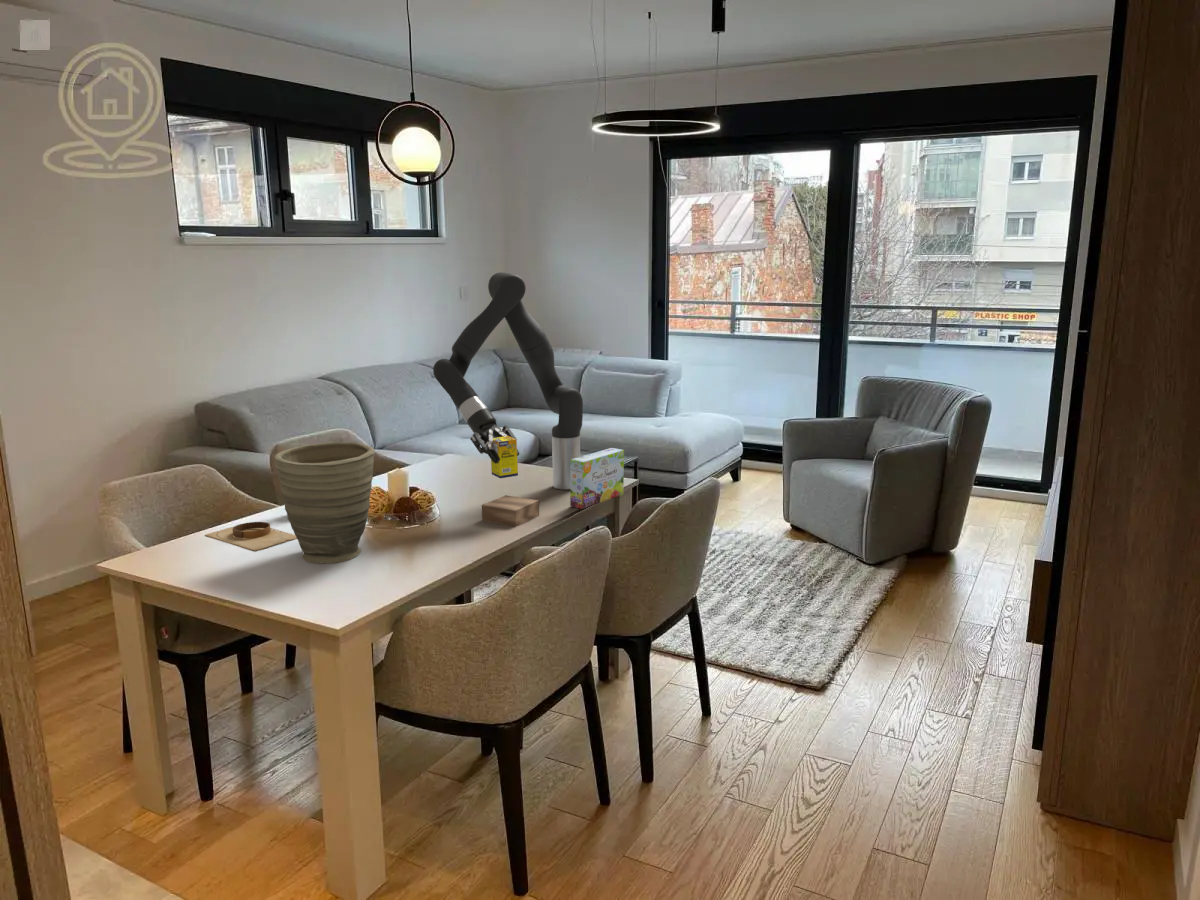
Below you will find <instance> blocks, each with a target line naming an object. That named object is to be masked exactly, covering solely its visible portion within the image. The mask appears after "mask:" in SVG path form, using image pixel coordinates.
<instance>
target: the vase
mask: <svg viewBox="0 0 1200 900" xmlns="http://www.w3.org/2000/svg"><path fill="white" fill-rule="evenodd" d="M374 453H375V449H374V447H372V446H370V445H368V444H365V443H359V442H353V441H352V442H351V441H350V442H319V443H314V444H307V445H301V446H296V447H292V448H289V449H285V450H282V451H280V452H278V453H277V454H275V455H274V458H275V459H274V460H275V467H276V471H277V477H278V478H279V482H280V492H281V494H282V497H283V501H284V510H285V512H286V516H287V520H288V522H289V524H290V527H291V530H292V531H293V534H294V535H296V537H297V539H296V540H297V541H298V545H299V546H300V549H301V551H302V553H303V554H302V555H301V558H302V559H303V560H304V561H305V562H307V563H310V564H311V563H312V564H333V563H341V562H345V561H349V560H352V559H355V558H356V557H358V556H359V555H360V554H361V552H362V550H361V549H362V548H360V547H359V543H360V542H361V538H362V535H363V534H364V532H365V529H366V524H367V522H368V517H369V511H370V510H369V509H370V507H371V504H370V498H371V489H372V486H373V485H372V482H373V478H374V477H373V476H374V475H373V472H374V464H375V461H374V460H375V458H374V457H375V455H374Z"/></svg>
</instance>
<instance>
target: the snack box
mask: <svg viewBox="0 0 1200 900" xmlns="http://www.w3.org/2000/svg"><path fill="white" fill-rule="evenodd" d="M624 466H625V449H620V448H614V447H609V448H606V449H603V450H599V451H596V452H593V453H589V454H585V455H580V457H578V458H574V459H571V460H570V489H569V490H570V491H569V493H570V494H569V495H570V497H569V499H570V501H569V502H570V503H569V504H570V505H569V506H570V507H573V508H577V509H580V510H585V509H586V508H589V507H592V506H595V505H598V504H600V503H604V502H606V501H609V500H611V499H614V498H618V497H620V496H623V495H624V481H625V480H624V478H625V477H624V476H625V475H624V471H625V470H624V469H625V467H624Z"/></svg>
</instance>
